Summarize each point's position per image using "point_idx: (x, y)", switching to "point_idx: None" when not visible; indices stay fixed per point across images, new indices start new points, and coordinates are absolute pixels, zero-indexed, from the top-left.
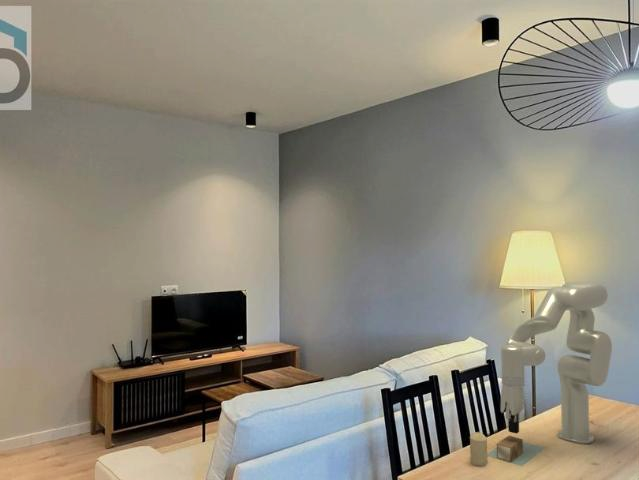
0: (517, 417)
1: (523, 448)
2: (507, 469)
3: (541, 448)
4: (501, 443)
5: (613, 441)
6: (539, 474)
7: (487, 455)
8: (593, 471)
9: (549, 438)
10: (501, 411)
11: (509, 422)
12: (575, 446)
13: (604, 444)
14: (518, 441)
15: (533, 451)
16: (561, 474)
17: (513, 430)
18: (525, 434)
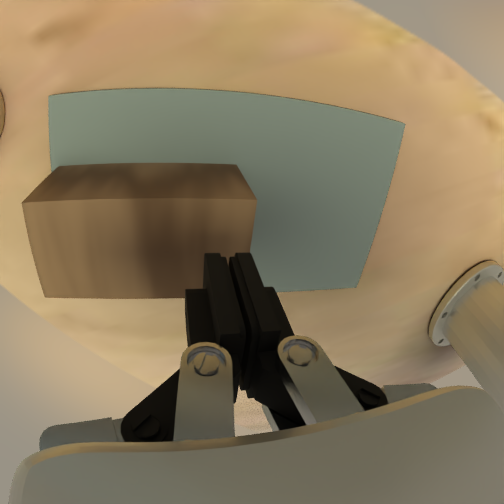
0: (272, 423)
1: (299, 222)
2: (13, 250)
3: (340, 280)
4: (49, 227)
5: (451, 356)
6: (82, 345)
7: (51, 107)
8: (237, 411)
9: (455, 253)
10: (17, 476)
11: (215, 327)
12: (409, 329)
13: (434, 356)
14: (179, 294)
15: (285, 270)
16: (145, 382)
17: (186, 316)
18: (472, 170)
